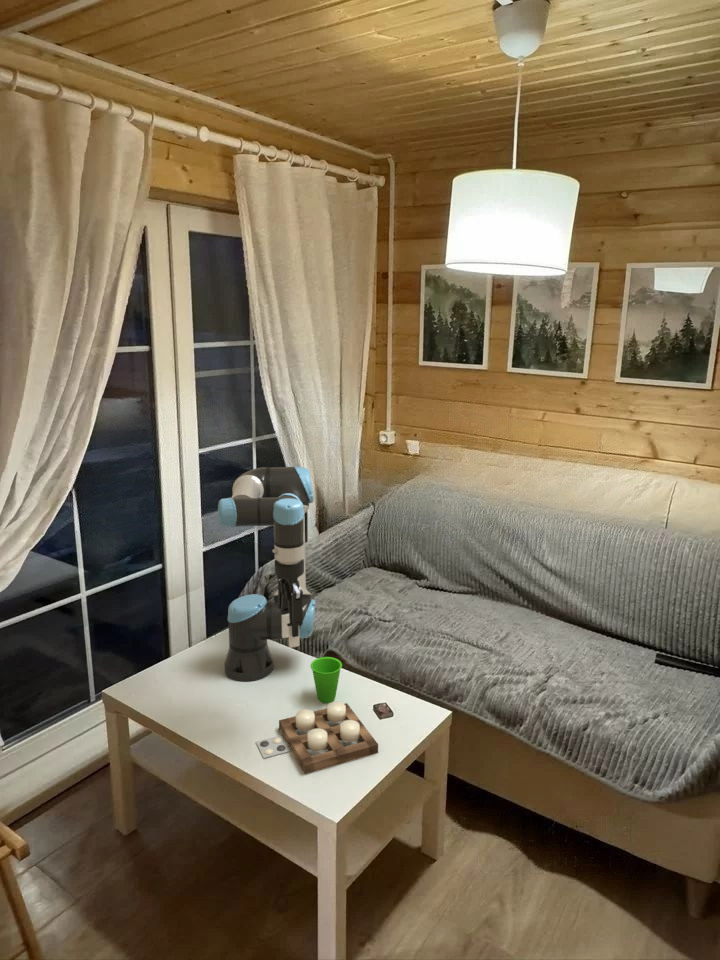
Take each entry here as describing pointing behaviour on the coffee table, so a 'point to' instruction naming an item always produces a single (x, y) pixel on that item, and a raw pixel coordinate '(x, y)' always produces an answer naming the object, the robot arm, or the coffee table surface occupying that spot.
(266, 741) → the card
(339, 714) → the button back left
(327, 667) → the cup
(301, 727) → the button back right
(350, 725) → the button front left
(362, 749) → the board
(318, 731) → the button front right
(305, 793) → the coffee table surface
